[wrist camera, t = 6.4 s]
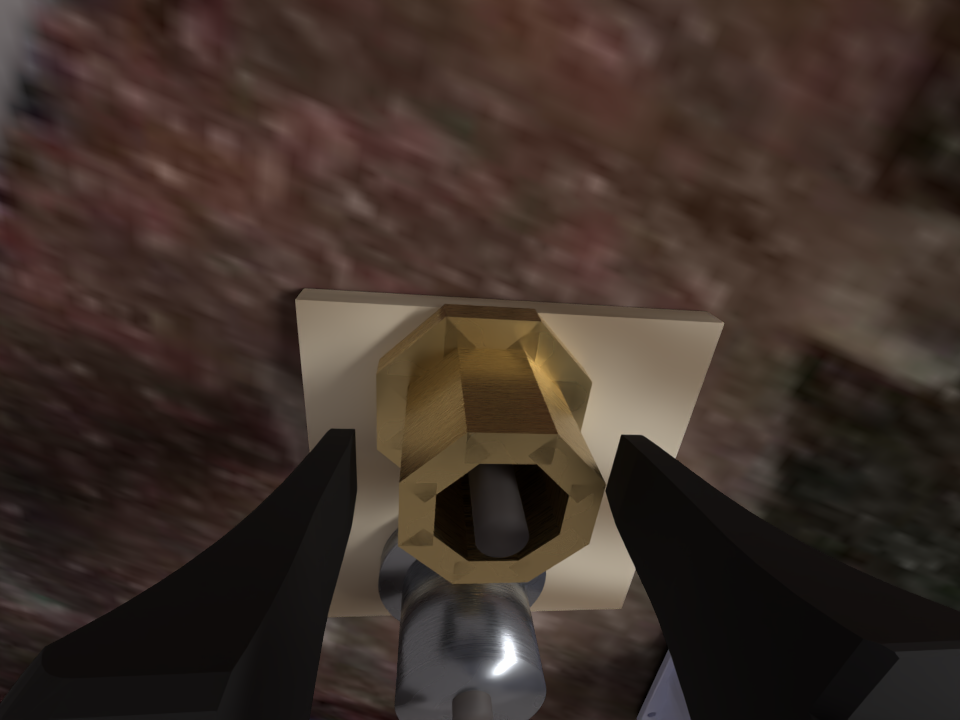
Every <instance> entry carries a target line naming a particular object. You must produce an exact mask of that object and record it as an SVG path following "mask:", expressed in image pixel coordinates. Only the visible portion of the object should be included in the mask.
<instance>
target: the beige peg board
mask: <svg viewBox="0 0 960 720" xmlns="http://www.w3.org/2000/svg"><path fill="white" fill-rule="evenodd" d="M295 304H296V315H297V325H298V336H299V347H300V357H301V368H302V378H303V389H304V400H305V410H306V421H307V431H308V442H309V453H310V452H311V451H312V449H313V448H314V447H315V446H316V445H317V443H318V442H319V441H320V440H321V438H322V437H323V436H324V435H325V433H326V432H327V431H328V430H330V429H331V428H334V429H355V437H356V464H357V496H356V503H355V510H354V516H353V523H352V528H351V532H350V535H349V539H348V543H347V547H346V550H345V554H344V558H343V561H342V565H341V569H340V572H339V576H338V580H337V583H336V587H335V590H334V594H333V598H332V601H331V605H330V609H329V613H328V617H355V616H389V615H391V614H390V613H389V612H388V610H387V609H386V608H385V606H384V605H383V603H382V601H381V598H380V595H379V590H378V581H379V572H380V563H381V555H382V552H383V548H384V546H385V544H386V542H387V540H388V539H389V537H390V536H391V534H392V533H393V532H394V531H395V530H396V529H397V528H398V515H399V478H400V467H398V466H397V465H396V464H395V463H393V462H392V461H391V460H390V459H388V458H387V457H386V456H385V455H383V454H382V453H381V452H380V451H378V450H377V410H376V373H377V368H378V364H379V359H380V358H381V357H382V356H383V355H385V354H386V353H387V352H388V351H389V350H391V349H392V348H393V347H394V346H395V345H397V344H398V343H399V342H400V341H401V340H403V339H404V338H405V337H406V336H407V335H409V334H410V333H411V332H412V331H413V330H415V329H416V328H417V327H418V326H419V325H420V324H422V323H423V322H424V321H425V320H426V319H428V318H429V317H430V316H431V315H432V314H434V313H435V312H436V311H437V310H438V309H440V308H441V307H442V306H443V305H444V304H457V305H475V306H493V307H511V308H529V309H535V310H536V311H537V313H538V314H539V315H540V316H541V317H542V319H543V320H544V321H545V322H546V323H547V325H548V326H549V327H550V328H551V329H552V331H553V332H554V333H555V334H556V335H557V336H558V338H559V339H560V340H561V341H562V342H563V344H564V345H565V346H566V347H567V348H568V350H569V351H570V352H571V353H572V354H573V356H574V357H575V358H576V359H577V360H578V362H579V363H580V364H581V365H582V366H583V368H584V369H585V371H586V373H587V374H588V376H589V377H590V379H591V381H592V382H593V383H592V387H591V391H590V395H589V400H588V404H587V408H586V412H585V417H584V421H583V425H582V429H581V433H582V435H583V438H584V440H585V442H586V444H587V446H588V448H589V450H590V452H591V454H592V456H593V458H594V460H595V462H596V464H597V466H598V468H599V470H600V473H601V475H602V477H603V479H604V481H605V483H606V486H607V483H608V479H609V476H610V472H611V469H612V465H613V462H614V458H615V455H616V451H617V448H618V444H619V441H620V437H621V434H622V435H643V436H645V437H646V438H648V439H649V440H651V441H652V442H654V443H655V444H656V445H658V446H659V447H660V448H662V449H663V450H664V451H666V452H667V453H668V454H670V455H671V456H672V457H674V458H675V459H676V456H677V453H678V450H679V447H680V445H681V442H682V439H683V436H684V434H685V431H686V428H687V425H688V423H689V420H690V417H691V414H692V411H693V409H694V406H695V403H696V400H697V398H698V395H699V392H700V389H701V386H702V384H703V381H704V378H705V375H706V373H707V370H708V367H709V364H710V362H711V359H712V356H713V353H714V350H715V348H716V345H717V342H718V339H719V337H720V334H721V331H722V328H723V326H724V323H723V322H722V321H721V320H719V319H718V318H716V317H715V316H713V315H712V314H710V313H709V312H705V311H688V310H671V309H653V308H636V307H619V306H601V305H584V304H567V303H550V302H532V301H515V300H498V299H480V298H463V297H446V296H428V295H411V294H394V293H377V292H359V291H342V290H325V289H307V288H304V289H303V290H302V291H301V293H300V294H299V295H298V297H297V298H296V299H295ZM468 478H469V487H470V497H471V507H472V516H473V526H474V535H475V544H476V547H477V548H478V550H479V551H480V552H481V553H483V554H485V555H487V556H490V557H496V558H502V557H508V556H511V555H514V554H516V553H518V552H519V551H521V550H522V549H523V548H524V547H525V546H526V544H527V543H528V540H529V531H528V527H527V523H526V519H525V514H524V510H523V506H522V502H521V498H520V493H519V489H518V485H517V481H516V477H515V472H514V468H513V464H479V465H477V466H476V467H474V468H473V469H472V470H470V471H469V472H468ZM605 490H606V487H605ZM634 572H635V566H634V564H633V562H632V560H631V558H630V556H629V554H628V551H627V549H626V547H625V545H624V543H623V540H622V538H621V536H620V534H619V531H618V529H617V527H616V525H615V522H614V518H613V515H612V512H611V509H610V506H609V502H608V499H607V495H606V492H605V491H604V494H603V498H602V501H601V505H600V508H599V512H598V515H597V519H596V522H595V526H594V529H593V533H592V536H591V540H590V543H589V545H587V546H585V547H584V548H582V549H581V550H579V551H577V552H576V553H574V554H573V555H571V556H569V557H568V558H566V559H564V560H563V561H561V562H560V563H558V564H556V565H555V566H553V567H551V568H550V569H548V570H547V571H546V580H545V584H544V587H543V590H542V592H541V594H540V596H539V597H538V599H537V600H536V601H535V603H534V604H533V605H532V606H531V607H530V611H558V610H592V609H621V608H622V605H623V603H624V600H625V597H626V594H627V592H628V589H629V586H630V583H631V580H632V578H633V575H634ZM452 720H493V711H492V701H491V696H490V695H489V694H488V693H486V692H484V691H479V690H471V691H466V692H463V693H460V694H459V695H457V696H456V697H455V698H454V699H453V701H452Z"/></svg>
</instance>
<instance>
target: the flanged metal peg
mask: <svg viewBox="0 0 960 720" xmlns="http://www.w3.org/2000/svg"><path fill="white" fill-rule="evenodd" d="M545 580H546V571H545V572H543V573H542V574H540V575H538V576H537V577H535V578H534V579H532V580H530V581H529V582H520V583H472V584H452V583H450V582H449V581H447V580H446V579H445V578H443V577H442V576H440V575H439V574H437V573H436V572H434V571H433V570H432V569H430V568H429V567H427V566H426V565H424V564H423V563H421V562H420V561H419V560H417V559H416V558H414V557H413V556H411V555H410V554H409V553H407V552H406V551H404V550H403V549H401V548H400V547H398V528H397V529H396V530H395V531H394V532H393V533H392V534H391V536H390V537H389V539H388V540H387V542H386V544H385V546H384V548H383V552H382V555H381V563H380V572H379V581H378V590H379V595H380V598H381V601H382V603H383V605H384V606H385V608H386V609H387V610H388V612H389V613H390V614H391V615H392V616H393V617H395V618H396V619H397V620H399V621H400V632H399V648H398V663H397V679H396V695H395V711H396V714H397V717H398V718H399V720H452V701H453V699H454V698H455V697H456V696H457V695H459V694H460V693H463V692H466V691H471V690H479V691H484V692H486V693H488V694H489V695H490V696H491V701H492V711H493V720H528V719H530V718H531V717H532V716H533V715H534V714H535V713H536V712H537V711H538V710H539V709H540V707H541V706H542V704H543V702H544V700H545V697H546V685H545V680H544V675H543V670H542V665H541V660H540V655H539V650H538V645H537V640H536V635H535V630H534V626H533V621H532V616H531V611H530V607H531V606H532V605H533V604H534V603H535V601H536V600H537V599H538V597H539V596H540V594H541V592H542V590H543V587H544V584H545Z"/></svg>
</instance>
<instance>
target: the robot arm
mask: <svg viewBox="0 0 960 720" xmlns="http://www.w3.org/2000/svg"><path fill="white" fill-rule="evenodd" d="M605 492H606V495H607V499H608V502H609V506H610V509H611V512H612V515H613V518H614V522H615V525H616V527H617V529H618V531H619V534H620V536H621V538H622V540H623V543H624V545H625V547H626V549H627V551H628V554H629V556H630V558H631V560H632V562H633V564H634V566H635V569H636V571H637V573H638V575H639V577H640V579H641V582H642V584H643V586H644V588H645V590H646V592H647V594H648V597H649V599H650V601H651V603H652V606H653V608H654V611H655V613H656V615H657V618H658V620H659V623H660V626H661V629H662V632H663V635H664V638H665V640H666V643H667V646H668V651H667V653H666V656H665V658H664V660H663V662H662V664H661V666H660V669H659V671H658V673H657V675H656V677H655V679H654V681H653V684H652V686H651V688H650V690H649V692H648V694H647V697H646V699H645V701H644V703H643V705H642V707H641V710H640V712H639V714H638V716H637V720H960V611H957V610H954V609H952V608H949V607H947V606H944V605H941V604H939V603H936V602H934V601H931V600H928V599H926V598H923V597H921V596H918V595H915V594H913V593H910V592H908V591H905V590H903V589H900V588H898V587H895V586H893V585H891V584H889V583H886V582H884V581H882V580H879V579H877V578H875V577H873V576H870V575H868V574H866V573H863V572H861V571H859V570H857V569H855V568H853V567H851V566H848V565H846V564H844V563H842V562H840V561H838V560H836V559H834V558H832V557H830V556H828V555H826V554H824V553H822V552H820V551H818V550H816V549H814V548H812V547H810V546H808V545H806V544H804V543H803V542H801V541H799V540H797V539H795V538H793V537H792V536H790V535H788V534H786V533H785V532H783V531H781V530H780V529H778V528H776V527H774V526H773V525H771V524H769V523H768V522H766V521H764V520H763V519H761V518H759V517H758V516H756V515H754V514H753V513H751V512H750V511H748V510H747V509H745V508H744V507H742V506H741V505H739V504H738V503H736V502H735V501H733V500H732V499H730V498H729V497H727V496H726V495H724V494H723V493H721V492H720V491H718V490H717V489H716V488H714V487H713V486H711V485H710V484H709V483H707V482H706V481H705V480H703V479H702V478H700V477H699V476H698V475H696V474H695V473H694V472H692V471H691V470H690V469H688V468H687V467H686V466H684V465H683V464H682V463H680V462H679V461H678V460H676V459H675V458H674V457H672V456H671V455H670V454H668V453H667V452H666V451H664V450H663V449H662V448H660V447H659V446H658V445H656V444H655V443H654V442H652V441H651V440H649V439H648V438H646V437H645V436H643V435H622V434H621V437H620V441H619V444H618V448H617V451H616V455H615V458H614V462H613V465H612V469H611V472H610V476H609V479H608V483H607V486H606V490H605ZM356 496H357V464H356V437H355V429H334V428H331V429H330V430H328V431H327V432H326V433H325V435H324V436H323V437H322V438H321V440H320V441H319V442H318V443H317V445H316V446H315V447H314V448H313V449H312V451H311V452H310V453H309V454H308V455H307V456H306V458H305V459H304V460H303V461H302V462H301V463H300V464H299V465H298V467H297V468H296V469H295V470H294V471H293V472H292V473H291V474H290V475H289V476H288V477H287V478H286V480H285V481H284V482H283V483H282V484H281V485H280V486H279V487H278V488H277V489H276V490H275V491H274V492H273V493H272V494H271V495H269V496H268V497H267V498H266V499H265V500H264V501H263V502H262V503H261V504H260V505H259V506H258V507H257V508H256V509H255V510H254V511H253V512H252V513H250V514H249V515H248V516H247V517H246V518H245V519H244V520H242V521H241V522H240V523H239V524H238V525H237V526H235V527H234V528H233V529H232V530H231V531H229V532H228V533H227V534H226V535H224V536H223V537H222V538H221V539H219V540H218V541H217V542H215V543H214V544H213V545H212V546H210V547H209V548H208V549H206V550H205V551H203V552H202V553H201V554H199V555H198V556H196V557H195V558H194V559H192V560H191V561H190V562H188V563H187V564H185V565H184V566H183V567H181V568H180V569H178V570H177V571H175V572H174V573H172V574H171V575H169V576H168V577H166V578H165V579H163V580H162V581H160V582H158V583H157V584H155V585H154V586H152V587H151V588H149V589H147V590H146V591H144V592H142V593H141V594H139V595H138V596H136V597H134V598H133V599H131V600H129V601H128V602H126V603H124V604H123V605H121V606H119V607H117V608H116V609H114V610H112V611H111V612H109V613H107V614H105V615H103V616H101V617H100V618H98V619H96V620H94V621H92V622H90V623H89V624H87V625H85V626H83V627H81V628H79V629H78V630H76V631H74V632H72V633H70V634H68V635H67V636H65V637H63V638H61V639H59V640H57V641H55V642H53V643H52V644H50V645H48V646H46V647H44V649H43V650H42V651H41V652H40V653H39V655H38V656H37V657H36V658H35V659H34V661H33V662H32V663H31V664H30V665H29V666H28V668H27V669H26V670H25V671H24V672H23V674H22V675H21V676H20V677H19V679H18V680H17V681H16V683H15V684H14V686H13V687H12V688H11V690H10V691H9V692H8V694H7V695H6V696H5V698H4V699H3V700H2V702H1V703H0V720H309V718H310V712H311V706H312V700H313V694H314V688H315V682H316V676H317V670H318V665H319V659H320V653H321V648H322V642H323V636H324V631H325V626H326V622H327V617H328V613H329V609H330V605H331V601H332V598H333V594H334V590H335V587H336V583H337V580H338V576H339V572H340V569H341V565H342V561H343V558H344V554H345V550H346V547H347V543H348V539H349V535H350V532H351V528H352V523H353V516H354V510H355V503H356Z"/></svg>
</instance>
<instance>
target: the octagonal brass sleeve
mask: <svg viewBox="0 0 960 720" xmlns="http://www.w3.org/2000/svg"><path fill="white" fill-rule="evenodd" d="M592 383H593V382H592V381H591V379H590V377H589V376H588V374H587V373H586V371H585V369H584V368H583V366H582V365H581V364H580V363H579V362H578V360H577V359H576V358H575V357H574V356H573V354H572V353H571V352H570V351H569V350H568V348H567V347H566V346H565V345H564V344H563V342H562V341H561V340H560V339H559V338H558V336H557V335H556V334H555V333H554V332H553V331H552V329H551V328H550V327H549V326H548V325H547V323H546V322H545V321H544V320H543V319H542V317H541V316H540V315H539V314H538V313H537V311H536V310H535V309H529V308H511V307H493V306H475V305H457V304H444V305H443V306H442V307H441V308H440V309H438V310H437V311H436V312H435V313H434V314H432V315H431V316H430V317H429V318H428V319H426V320H425V321H424V322H423V323H422V324H420V325H419V326H418V327H417V328H416V329H415V330H413V331H412V332H411V333H410V334H409V335H407V336H406V337H405V338H404V339H403V340H401V341H400V342H399V343H398V344H397V345H395V346H394V347H393V348H392V349H391V350H389V351H388V352H387V353H386V354H385V355H383V356H382V357H381V358H380V359H379V364H378V368H377V373H376V410H377V450H378V451H380V452H381V453H382V454H383V455H385V456H386V457H387V458H388V459H390V460H391V461H392V462H393V463H395V464H396V465H397V466H398V467H400V478H399V515H398V547H400V548H401V549H403V550H404V551H406V552H407V553H409V554H410V555H411V556H413V557H414V558H416V559H417V560H419V561H420V562H421V563H423V564H424V565H426V566H427V567H429V568H430V569H432V570H433V571H434V572H436V573H437V574H439V575H440V576H442V577H443V578H445V579H446V580H447V581H449V582H450V583H452V584H472V583H520V582H529V581H530V580H532V579H534V578H535V577H537V576H538V575H540V574H542V573H543V572H545V571H547V570H548V569H550V568H551V567H553V566H555V565H556V564H558V563H560V562H561V561H563V560H564V559H566V558H568V557H569V556H571V555H573V554H574V553H576V552H577V551H579V550H581V549H582V548H584V547H585V546H587V545H589V543H590V540H591V536H592V533H593V529H594V526H595V522H596V519H597V515H598V512H599V508H600V505H601V501H602V498H603V494H604V491H605V487H606V483H605V481H604V479H603V477H602V475H601V473H600V470H599V468H598V466H597V464H596V462H595V460H594V458H593V456H592V454H591V452H590V450H589V448H588V446H587V444H586V442H585V440H584V438H583V435H582V433H581V429H582V425H583V421H584V417H585V412H586V408H587V404H588V400H589V395H590V391H591V387H592ZM479 464H513V468H514V472H515V477H516V481H517V485H518V489H519V493H520V498H521V502H522V506H523V510H524V514H525V519H526V523H527V527H528V531H529V540H528V543H527V544H526V546H525V547H524V548H523V549H522V550H521V551H519V552H518V553H516V554H514V555H511V556H508V557H502V558H496V557H490V556H487V555H485V554H483V553H481V552H480V551H479V550H478V548H477V547H476V544H475V535H474V526H473V516H472V507H471V497H470V487H469V478H468V472H469V471H470V470H472V469H473V468H474V467H476V466H477V465H479Z"/></svg>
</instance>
